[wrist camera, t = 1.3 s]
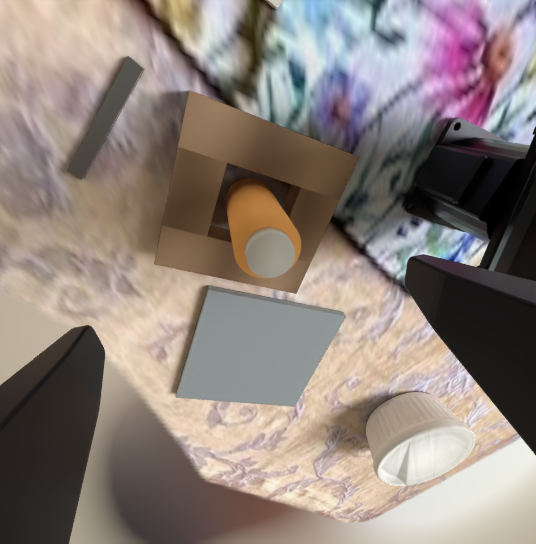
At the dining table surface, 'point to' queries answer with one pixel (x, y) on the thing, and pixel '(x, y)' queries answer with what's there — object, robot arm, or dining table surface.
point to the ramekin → (416, 439)
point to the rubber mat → (255, 348)
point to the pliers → (274, 3)
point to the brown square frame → (255, 157)
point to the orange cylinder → (260, 230)
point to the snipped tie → (106, 117)
